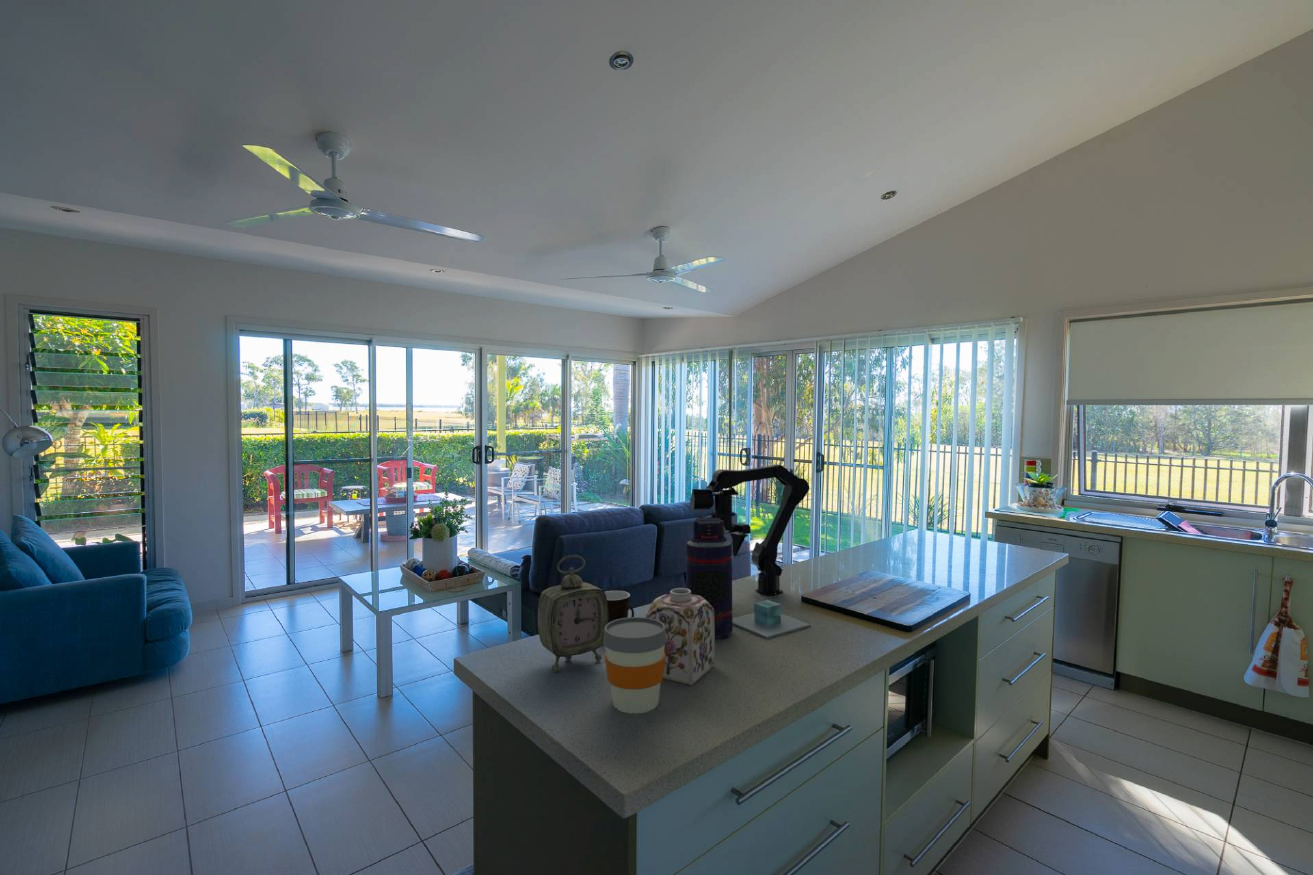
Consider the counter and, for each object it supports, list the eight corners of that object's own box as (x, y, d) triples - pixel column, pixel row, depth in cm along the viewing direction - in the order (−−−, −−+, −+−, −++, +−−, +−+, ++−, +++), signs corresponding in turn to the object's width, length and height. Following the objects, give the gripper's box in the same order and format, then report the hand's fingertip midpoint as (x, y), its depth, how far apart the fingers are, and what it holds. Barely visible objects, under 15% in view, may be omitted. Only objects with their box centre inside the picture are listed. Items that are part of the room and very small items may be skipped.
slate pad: (768, 611, 171) (768, 609, 171) (810, 626, 157) (810, 624, 157) (726, 621, 162) (726, 619, 162) (766, 639, 149) (766, 636, 149)
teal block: (767, 617, 163) (767, 599, 163) (780, 622, 159) (780, 604, 159) (754, 621, 160) (754, 603, 160) (767, 626, 156) (767, 607, 156)
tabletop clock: (550, 677, 128) (549, 563, 127) (535, 663, 135) (533, 555, 135) (609, 661, 136) (607, 554, 135) (591, 649, 143) (589, 547, 143)
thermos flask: (735, 642, 147) (734, 523, 146) (687, 642, 147) (686, 523, 146) (729, 623, 160) (728, 514, 160) (686, 624, 161) (684, 515, 160)
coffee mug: (594, 629, 157) (594, 592, 157) (625, 625, 160) (625, 589, 160) (604, 644, 146) (603, 605, 146) (637, 640, 149) (636, 601, 149)
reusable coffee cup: (594, 696, 118) (593, 623, 118) (649, 683, 124) (649, 613, 124) (619, 724, 107) (618, 643, 107) (679, 708, 113) (678, 631, 112)
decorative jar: (716, 666, 132) (715, 587, 132) (693, 687, 122) (692, 601, 122) (670, 656, 138) (669, 581, 138) (644, 675, 128) (643, 593, 128)
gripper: (729, 504, 199) (729, 549, 199) (684, 508, 188) (685, 557, 189) (751, 507, 189) (752, 555, 190) (706, 513, 179) (706, 563, 179)
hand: (723, 557), depth 187 cm, fingers open, 9 cm apart
